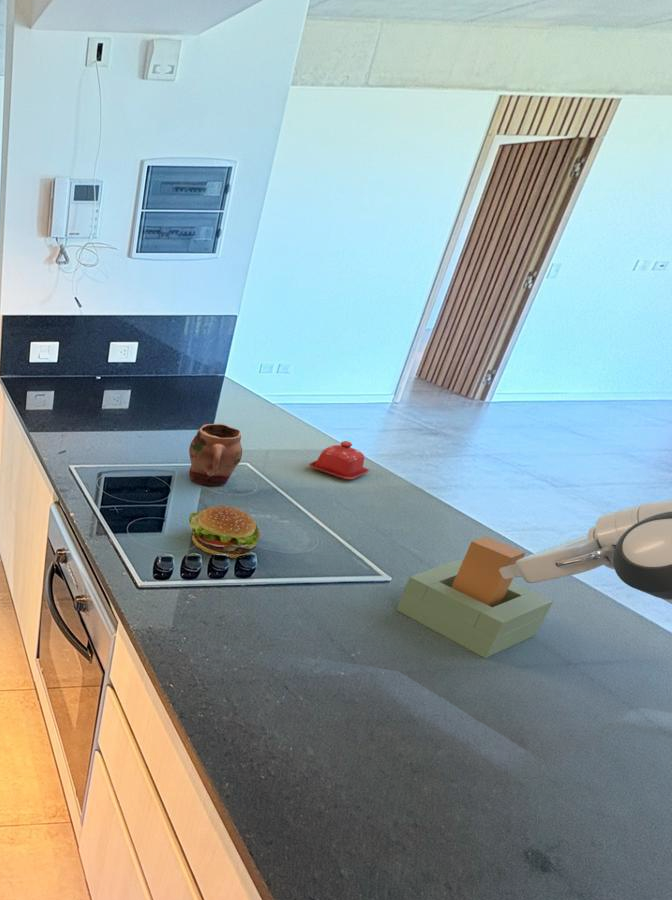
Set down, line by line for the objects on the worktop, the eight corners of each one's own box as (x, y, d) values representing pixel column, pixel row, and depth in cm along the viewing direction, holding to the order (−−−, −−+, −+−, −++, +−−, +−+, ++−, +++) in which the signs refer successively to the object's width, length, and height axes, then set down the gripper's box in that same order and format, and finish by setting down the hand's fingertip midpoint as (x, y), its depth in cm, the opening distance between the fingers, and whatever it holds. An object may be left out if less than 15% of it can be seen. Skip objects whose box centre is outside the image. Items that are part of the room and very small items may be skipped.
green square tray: (535, 635, 102) (553, 600, 98) (484, 658, 96) (502, 622, 93) (445, 591, 113) (459, 558, 110) (396, 610, 108) (409, 576, 105)
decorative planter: (240, 501, 147) (253, 446, 140) (186, 495, 149) (197, 442, 143) (229, 469, 164) (240, 419, 158) (181, 465, 167) (190, 415, 160)
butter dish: (371, 474, 161) (381, 443, 157) (349, 484, 155) (359, 453, 152) (326, 460, 170) (335, 431, 166) (304, 469, 164) (312, 439, 160)
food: (194, 522, 137) (200, 490, 133) (261, 540, 130) (270, 507, 126) (174, 548, 127) (181, 514, 123) (246, 569, 120) (256, 533, 116)
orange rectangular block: (461, 591, 106) (486, 536, 101) (497, 609, 101) (525, 552, 96) (446, 597, 104) (471, 541, 99) (483, 615, 100) (511, 557, 95)
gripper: (607, 580, 79) (491, 601, 91) (684, 546, 86) (568, 570, 99) (580, 534, 81) (470, 561, 93) (658, 505, 88) (547, 534, 100)
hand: (521, 566), depth 96 cm, fingers open, 8 cm apart
